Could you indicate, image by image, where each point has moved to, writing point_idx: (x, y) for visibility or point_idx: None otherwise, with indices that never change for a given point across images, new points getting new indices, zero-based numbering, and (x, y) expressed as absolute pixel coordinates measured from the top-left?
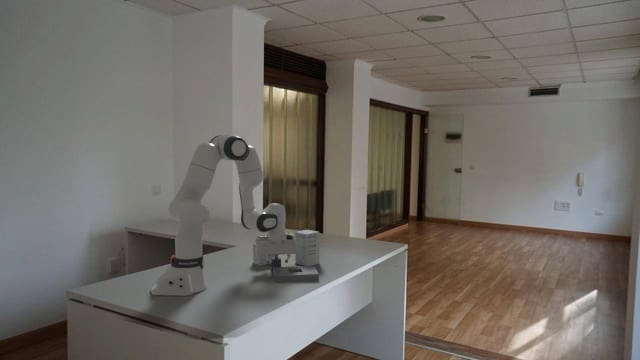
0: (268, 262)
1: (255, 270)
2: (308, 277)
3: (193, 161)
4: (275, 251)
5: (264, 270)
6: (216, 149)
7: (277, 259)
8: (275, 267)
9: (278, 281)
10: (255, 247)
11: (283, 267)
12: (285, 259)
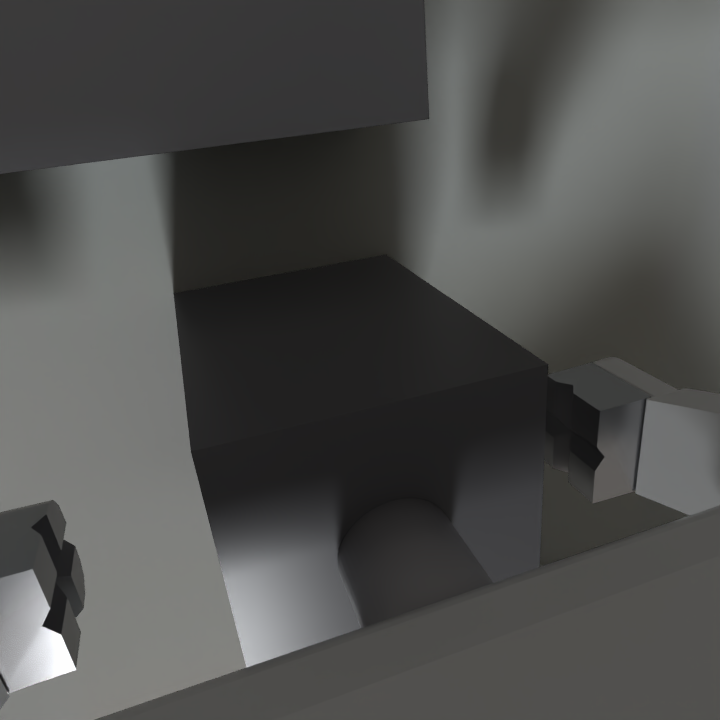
0: (574, 382)
1: (676, 323)
2: None
3: None
4: (669, 716)
5: (531, 334)
6: None
7: (351, 417)
8: (349, 78)
9: None
10: None
11: (40, 57)
12: (32, 606)
